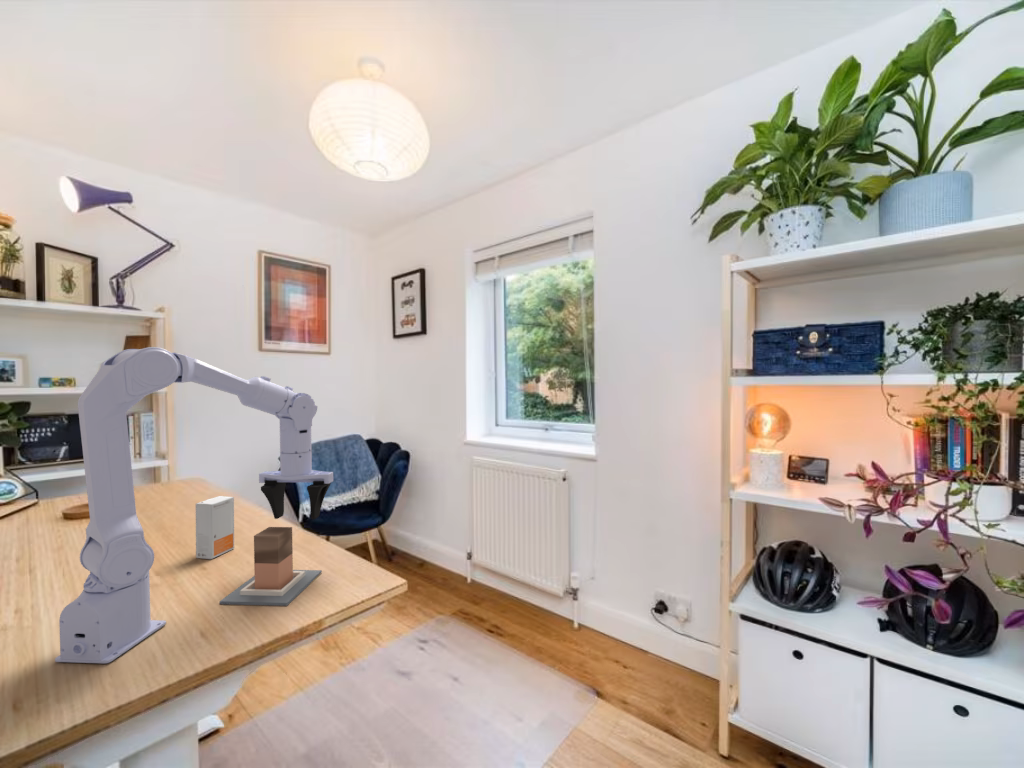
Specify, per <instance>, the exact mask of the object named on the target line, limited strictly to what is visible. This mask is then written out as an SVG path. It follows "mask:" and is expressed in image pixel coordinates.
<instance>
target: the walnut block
mask: <svg viewBox="0 0 1024 768" xmlns="http://www.w3.org/2000/svg"><path fill="white" fill-rule="evenodd" d="M253 549H254V550H253V559H254V560H253V561H254V562H253V563H270V564H279V563H280V562H281V561H283V560H284V559H285V558H287V557H288V556H289V555H291V554H292V553H293V552H294V551H293V549H294V548H293V527H292V526H268V527H267V528H265V529H263V530H261V531H260V532H258V533H256V534H254V535H253Z"/></svg>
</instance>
